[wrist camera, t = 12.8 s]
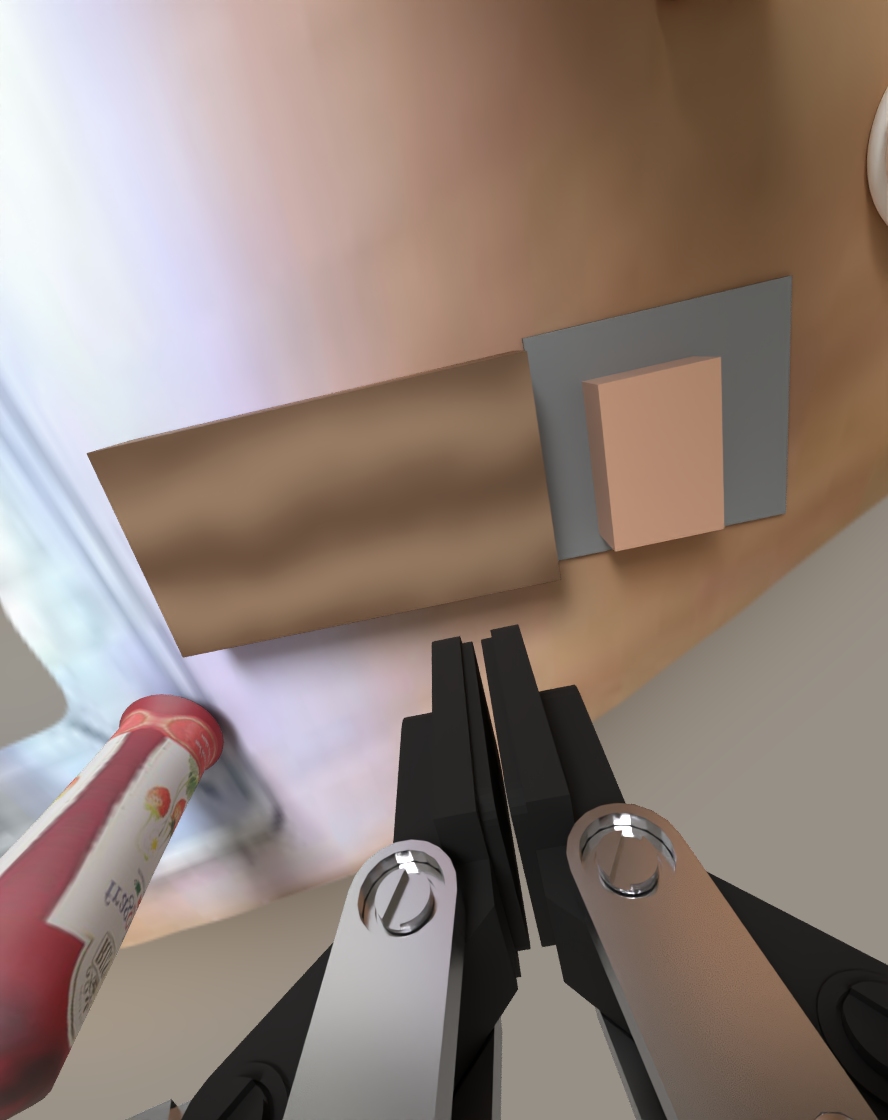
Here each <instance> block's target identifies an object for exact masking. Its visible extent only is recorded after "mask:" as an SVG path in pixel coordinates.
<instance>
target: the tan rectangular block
mask: <svg viewBox="0 0 888 1120" xmlns="http://www.w3.org/2000/svg"><path fill="white" fill-rule="evenodd" d="M582 387H583V396H584V405H585V414H586V422H587V431H588V440H589V449H590V457H591V466H592V475H593V484H594V493H595V501H596V510H597V519H598V528H599V534H600V535H601V537H602V538H603V539H604V540H605V541H606V542H607V543H608V544H609V545H610V546H611V547H612V549H613V550H614V551H615V552H616V551H621V550H625V549H630V548H635V547H640V546H645V545H649V544H654V543H659V542H664V541H669V540H673V539H678V538H683V537H688V536H693V535H697V534H702V533H707V532H712V531H717V530H722V529H724V487H723V436H722V386H721V357H700V356H692V357H687V358H683V359H679V360H674V361H670V362H666V363H661V364H657V365H652V366H648V367H644V368H639V369H635V370H631V371H626V372H622V373H617V374H613V375H609V376H604V377H600V378H595V379H591V380H587V381H582Z"/></svg>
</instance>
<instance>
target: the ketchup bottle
mask: <svg viewBox="0 0 888 1120" xmlns="http://www.w3.org/2000/svg"><path fill="white" fill-rule="evenodd" d="M222 749H223V735H222V732H221V729H220V727H219V725H218V723H217V722H216V720H215V719H214V718H213V716H212V715H211V714H210V713H209V712H208V711H206V710H205V709H204V708H203V707H201V706H200V705H198V704H196V703H194V702H193V701H190V700H188V699H185V698H182V697H178V696H173V695H162V694H161V695H151V696H147V697H144V698H141V699H139V700H137V701H135V702H133V703H132V704H131V705H130V706H129V707H128V708H127V709H126V710H125V712H124V713H123V714H122V717H121V720H120V724H119V729H118V730H117V732H116V733H115V734H114V735H113V736H112V737H111V738H110V740H109V741H108V742H107V743H106V744H105V745H104V746H103V748H102V749H101V750H100V751H99V752H98V753H97V754H96V755H95V757H94V758H93V759H92V760H91V761H90V762H89V763H88V765H87V766H86V767H85V768H84V769H83V770H82V771H81V772H80V773H79V775H78V776H77V777H76V778H75V779H74V780H73V781H72V782H71V783H70V784H69V786H68V787H67V788H66V789H65V790H64V791H63V792H62V793H61V794H60V795H59V797H58V798H57V799H56V800H55V801H54V802H53V803H52V804H51V805H50V807H49V808H48V809H47V810H46V811H45V812H44V813H43V814H42V815H41V816H40V817H39V819H38V820H37V821H36V822H35V823H34V824H33V825H32V826H31V827H30V828H29V829H28V830H27V831H26V832H25V833H24V834H23V835H22V836H21V837H20V838H19V840H18V841H17V842H16V843H15V844H14V845H13V846H12V847H11V848H10V849H9V850H8V851H7V852H6V853H5V854H4V855H3V856H2V857H1V858H0V1120H7V1119H9V1118H10V1117H12V1116H14V1115H16V1114H18V1113H20V1112H21V1111H23V1110H25V1109H27V1108H29V1107H31V1106H33V1105H34V1104H36V1103H37V1102H39V1101H41V1100H42V1099H43V1098H45V1096H46V1095H47V1094H48V1093H49V1092H50V1091H51V1089H52V1087H53V1085H54V1083H55V1081H56V1079H57V1077H58V1075H59V1073H60V1070H61V1068H62V1066H63V1064H64V1062H65V1060H66V1058H67V1055H68V1054H69V1052H70V1050H71V1047H72V1045H73V1043H74V1041H75V1039H76V1037H77V1035H78V1033H79V1031H80V1029H81V1026H82V1024H83V1022H84V1020H85V1018H86V1016H87V1014H88V1012H89V1010H90V1008H91V1006H92V1004H93V1002H94V1000H95V998H96V996H97V993H98V991H99V989H100V988H101V985H102V983H103V981H104V979H105V977H106V975H107V973H108V971H109V969H110V967H111V965H112V963H113V961H114V959H115V957H116V955H117V953H118V951H119V948H120V946H121V944H122V942H123V940H124V937H125V935H126V933H127V931H128V929H129V926H130V924H131V922H132V920H133V918H134V915H135V913H136V911H137V909H138V907H139V904H140V902H141V900H142V898H143V896H144V893H145V891H146V889H147V887H148V885H149V882H150V880H151V878H152V876H153V874H154V871H155V869H156V867H157V865H158V863H159V861H160V859H161V857H162V855H163V853H164V851H165V849H166V847H167V845H168V843H169V841H170V839H171V837H172V834H173V832H174V830H175V828H176V826H177V824H178V822H179V820H180V818H181V816H182V814H183V812H184V810H185V808H186V806H187V804H188V802H189V800H190V798H191V796H192V794H193V792H194V790H195V788H196V786H197V784H198V782H199V780H200V778H201V776H202V775H203V773H204V771H205V770H207V769H208V768H210V767H211V766H212V765H214V764H215V762H216V761H217V760H218V759H219V757H220V755H221V753H222Z"/></svg>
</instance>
